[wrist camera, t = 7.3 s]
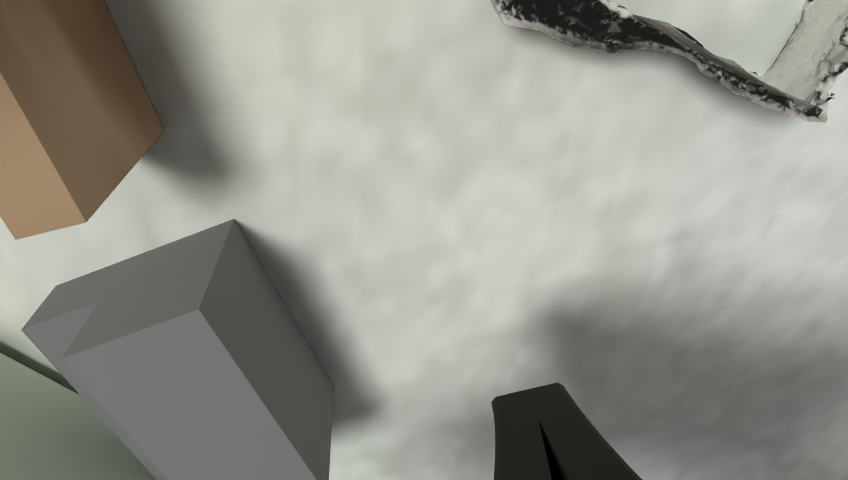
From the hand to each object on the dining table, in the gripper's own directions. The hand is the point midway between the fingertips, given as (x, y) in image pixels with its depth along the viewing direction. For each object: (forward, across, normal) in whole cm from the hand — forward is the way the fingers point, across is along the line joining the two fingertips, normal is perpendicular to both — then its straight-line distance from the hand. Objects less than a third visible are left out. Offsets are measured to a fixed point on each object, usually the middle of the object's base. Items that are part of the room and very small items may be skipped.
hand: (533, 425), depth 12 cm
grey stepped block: (+6, +8, 0) cm, 10 cm away
